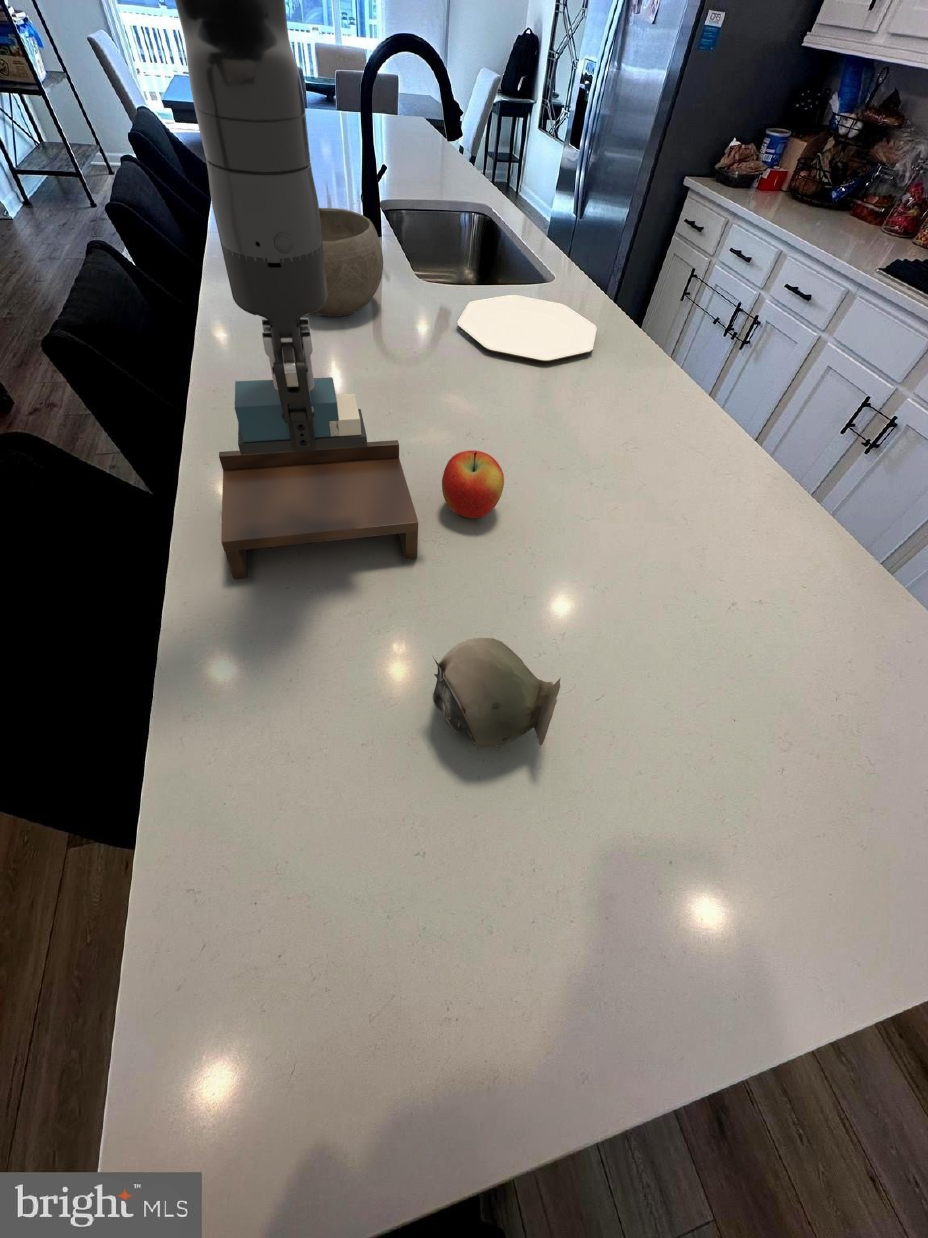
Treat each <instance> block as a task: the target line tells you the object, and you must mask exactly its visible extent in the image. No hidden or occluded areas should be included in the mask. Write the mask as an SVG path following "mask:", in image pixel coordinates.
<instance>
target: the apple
mask: <svg viewBox="0 0 928 1238" xmlns="http://www.w3.org/2000/svg"><path fill="white" fill-rule="evenodd" d="M443 470H444V471H443V473H442V478H441V479H442V480H441V491H442V496H443V499H444V502H445V504H446V505H447V507H448V508H449V509H450V510H451V511H452V512H454V513H455V514H457V515H459V516H461V517H464V518H468V519H469V518H470V519H480V518H482V517H485V516H487V515H488V514H489V513H491V512H492V511H493V510H494V509H495V507H497V505H498V503H499V501H500V499H501V497H502V494H503V490H504V486H505V476H504V472H503V469H502V466H501V465H500V464H499V462H498V461H497V460H496V459H495V458H494V457H493V456H492V455H490V454H489V453H487V452H484V451H482V450H481V451H480V450H464V451H460V452H457V453H455V454H454V455H453V456H451V458H450V459H448V462H447V464H446V465H445V467H444V469H443Z"/></svg>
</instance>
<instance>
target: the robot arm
mask: <svg viewBox="0 0 928 1238" xmlns="http://www.w3.org/2000/svg"><path fill="white" fill-rule="evenodd" d="M174 3H175V6H176V10H177V14H178V18H179V22H180V25H181V30H182V34H183V39H184V44H185V52H186V61H187V62H186V63H187V71H188V78H189V84H190V91H191V96H192V102H193V106H194V112H195V116H196V120H197V126H198V131H199V134H200V139H201V144H202V148H203V153H204V158H205V162H206V163H205V164H206V168H207V175H208V176H207V177H208V184H209V185H208V186H209V194H210V201H211V206H212V210H213V211H212V212H213V215H214V220H215V224H216V228H217V233H218V237H219V241H220V247H221V252H222V255H223V260H224V261H223V262H224V265H225V269H226V274H227V278H228V282H229V287H230V291H231V296H232V299H233V301H234V302H235V304H236V306H237V307H238V308H240V309H241V310H242V311H244V312H246V313H248V314H250V315H253V316H258V317H262V318H261V325H262V332H261V336H262V342H263V343H262V344H263V349H264V353H265V354H266V355H267V357H268V359H269V365H270V371H271V376H272V380H273V384H274V388H275V389H276V390H277V391H278V392H279V397H280V402H281V406H282V411H283V413H282V419H284V421H285V423H288V427H289V432H290V438H291V443H292V449H293V450H294V451H295V452H307V451H314V450H315V449H316V443H315V436H314V429H313V417H314V409H313V407H311V399H310V390H312V389H313V388H314V379H313V378H314V371H313V365H312V359H311V355H312V354H313V342H312V335H311V334H312V333H311V328H310V320H309V317H305V316H307V315H312V314H316V313H315V312H317V311H318V310H320V309H321V308H322V307H323V306H324V305H325V303H326V301H327V297H328V293H327V283H326V273H325V263H324V253H323V243H322V233H321V223H320V213H319V208H320V204H319V198H318V194H317V193H318V192H317V189H316V184H315V180H314V175H313V168H312V162H311V152H310V144H309V132H308V124H307V123H308V122H307V114H306V104H305V97H304V91H303V85H302V80H301V75H300V71H299V67H298V63H297V60H296V58H295V55H294V52H293V50H292V47H291V42H290V36H289V29H288V20H287V19H288V18H287V9H286V1H285V0H174Z"/></svg>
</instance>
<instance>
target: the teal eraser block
mask: <svg viewBox="0 0 928 1238" xmlns="http://www.w3.org/2000/svg"><path fill="white" fill-rule="evenodd" d="M313 379H314V388H313V389H312V390H310V399H311V407H313V409H314V417H313V429H314V436H315V443H316V449H315V450H321V449H336V448H351V447H366V446H367V442H368V436H367V435H368V434H367V432H366V427H365V422H364V418H363V413H362V409H361V408H359V407H358V403H357V398H356V394H355V393H342V394H341V393H340V394H336V388H335V381H334V378H333V377H313ZM234 411H235V415H236V419H237V422H238V423H237V425H238V427H237V446H238V451H240V454H241V455H246V454H261V453H276V452H291V451H294V450H293V449H292V443H291V438H290V432H289V427H288V423H285V421H284V419H282V413H283V411H282V406H281V402H280V397H279V392H278V391H277V390H276V389H275V388H274V384H273V379H258V380H257V379H256V380H235V381H234Z"/></svg>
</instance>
